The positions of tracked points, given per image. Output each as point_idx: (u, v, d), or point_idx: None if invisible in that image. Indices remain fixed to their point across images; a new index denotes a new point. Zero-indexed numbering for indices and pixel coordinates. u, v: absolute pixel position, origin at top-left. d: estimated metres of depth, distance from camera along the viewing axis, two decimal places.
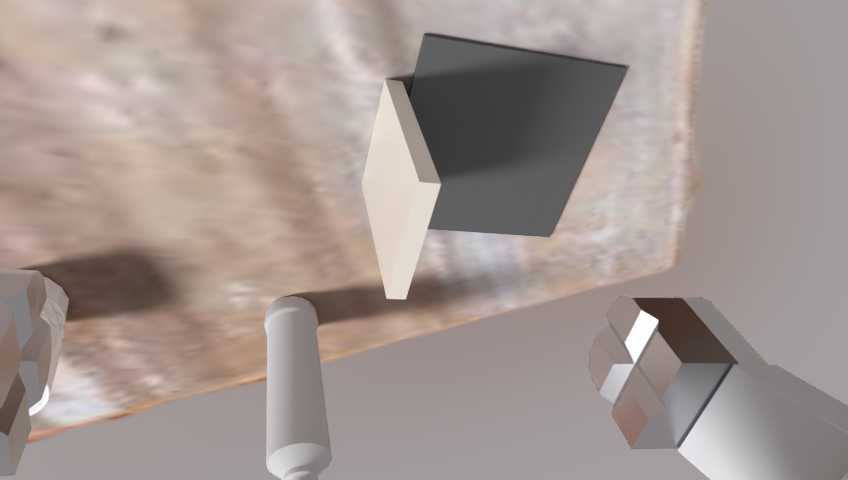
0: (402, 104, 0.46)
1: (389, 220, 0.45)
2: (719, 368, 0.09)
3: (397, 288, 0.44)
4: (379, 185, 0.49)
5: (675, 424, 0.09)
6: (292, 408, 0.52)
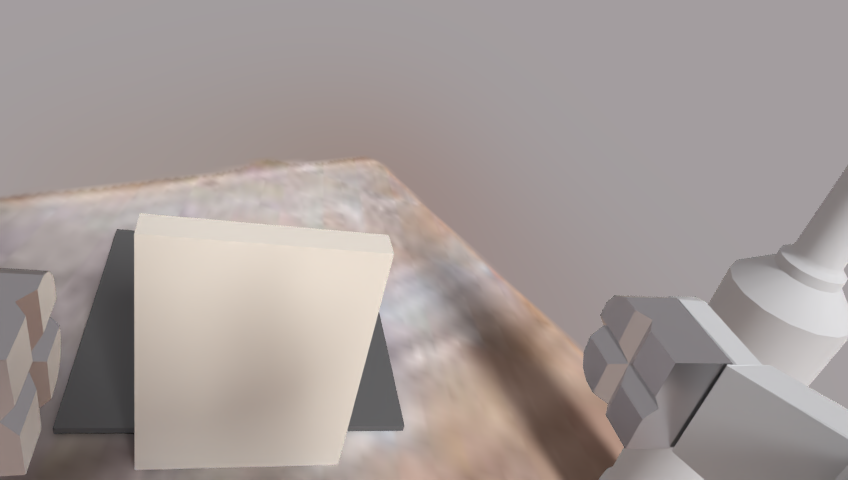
0: None
1: (286, 319, 0.27)
2: (712, 368, 0.09)
3: (368, 244, 0.27)
4: (278, 393, 0.30)
5: (669, 424, 0.09)
6: None
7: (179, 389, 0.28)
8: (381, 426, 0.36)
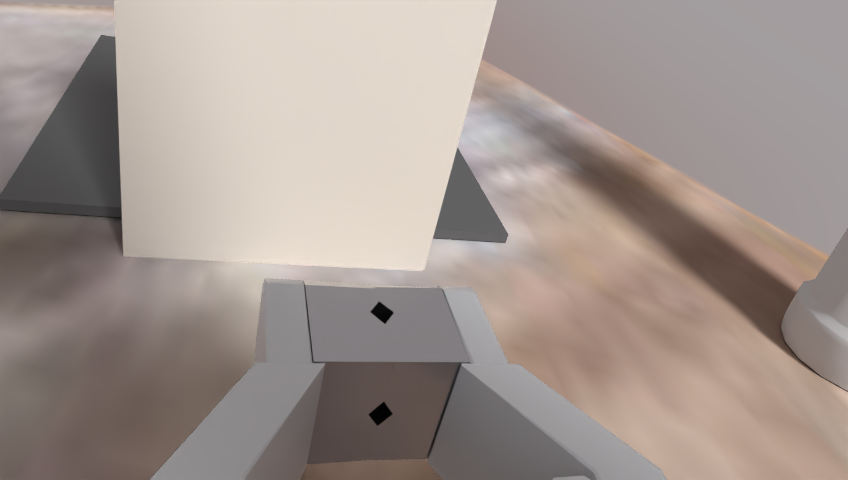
0: None
1: None
2: (447, 368, 0.08)
3: None
4: (343, 118, 0.19)
5: (415, 432, 0.08)
6: None
7: (190, 94, 0.18)
8: (477, 233, 0.25)
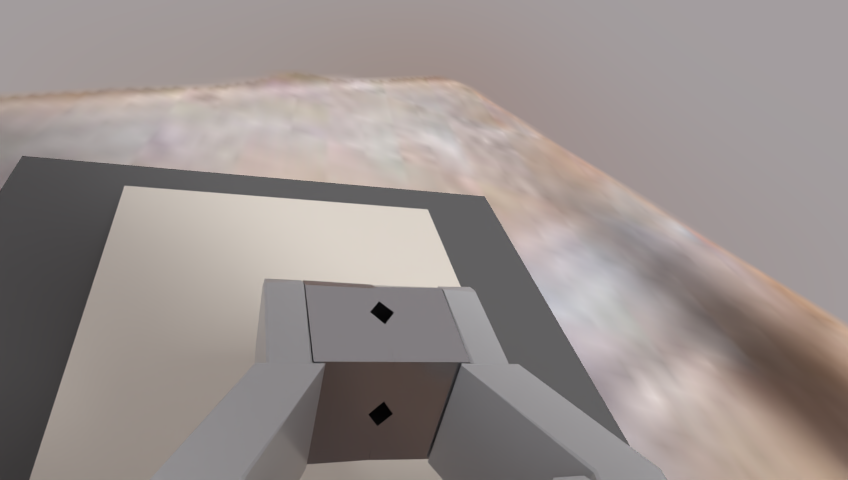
0: None
1: (328, 268, 0.19)
2: (447, 368, 0.08)
3: None
4: None
5: (414, 432, 0.08)
6: None
7: (157, 380, 0.14)
8: None
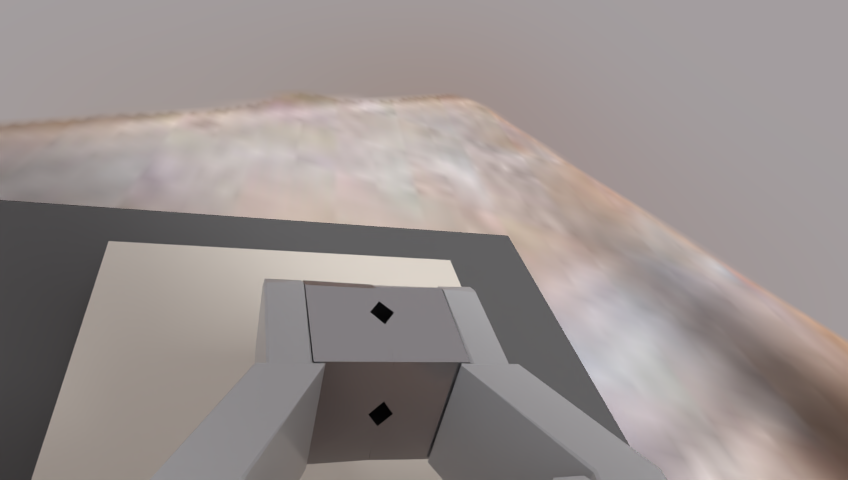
0: None
1: None
2: (447, 368, 0.08)
3: None
4: None
5: (414, 432, 0.08)
6: None
7: None
8: None
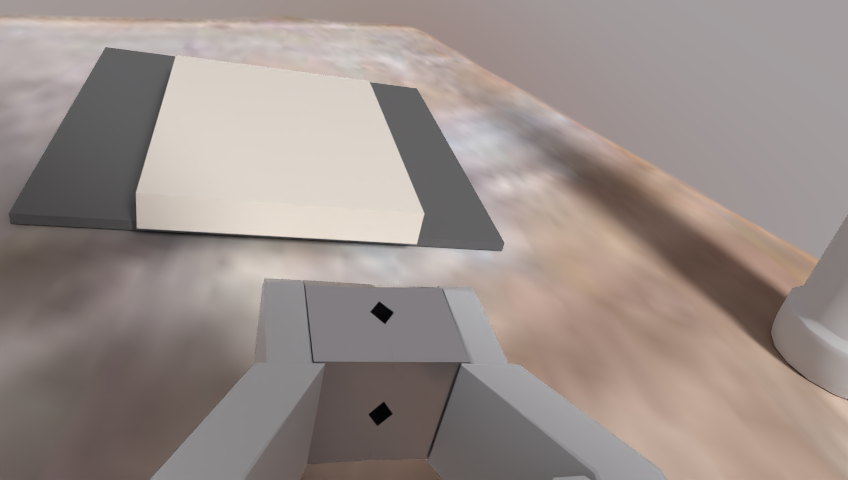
0: None
1: (301, 98, 0.31)
2: (447, 367, 0.08)
3: None
4: (312, 140, 0.27)
5: (414, 432, 0.08)
6: None
7: (205, 127, 0.26)
8: (474, 242, 0.26)
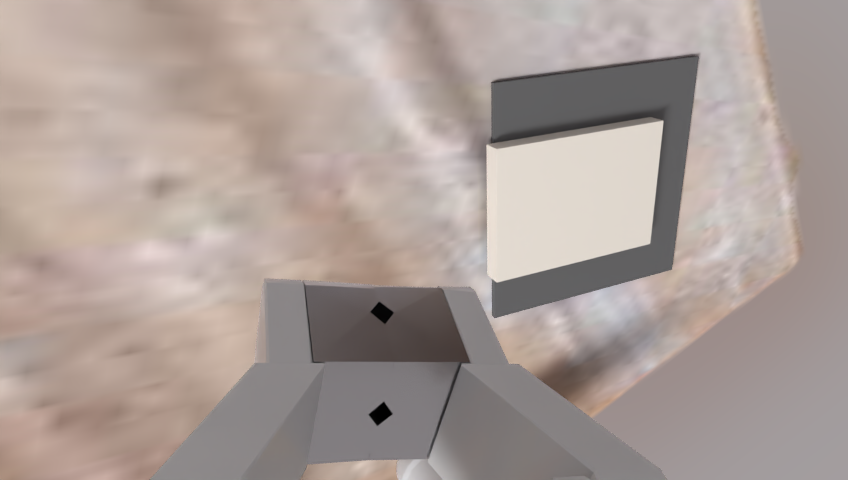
0: (541, 138, 0.44)
1: (614, 206, 0.48)
2: (447, 368, 0.08)
3: None
4: (562, 220, 0.47)
5: (414, 432, 0.08)
6: None
7: (567, 162, 0.45)
8: (494, 302, 0.49)
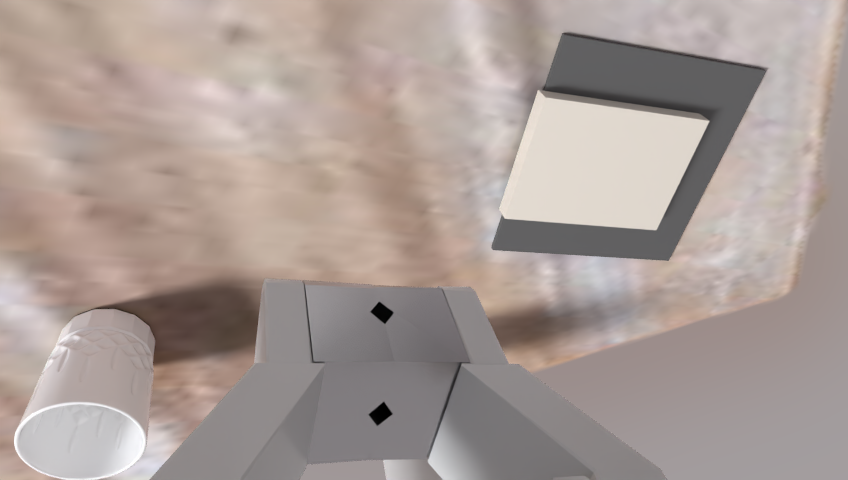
0: (590, 100, 0.46)
1: (635, 185, 0.50)
2: (447, 367, 0.08)
3: None
4: (583, 182, 0.49)
5: (414, 432, 0.08)
6: None
7: (606, 131, 0.47)
8: (497, 236, 0.52)
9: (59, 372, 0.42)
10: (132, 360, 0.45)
